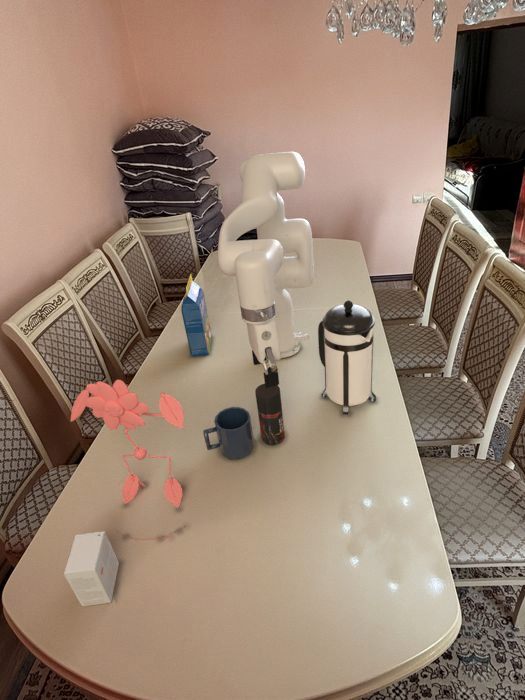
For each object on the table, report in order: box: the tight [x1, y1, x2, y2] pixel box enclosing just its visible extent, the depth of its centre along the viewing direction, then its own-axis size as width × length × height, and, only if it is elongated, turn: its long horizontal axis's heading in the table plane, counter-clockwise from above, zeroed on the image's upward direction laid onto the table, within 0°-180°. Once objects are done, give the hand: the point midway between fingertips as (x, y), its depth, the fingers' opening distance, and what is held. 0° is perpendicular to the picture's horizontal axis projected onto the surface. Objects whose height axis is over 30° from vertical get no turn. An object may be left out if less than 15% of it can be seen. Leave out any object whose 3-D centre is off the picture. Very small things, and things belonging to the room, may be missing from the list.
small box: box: [63, 530, 120, 607], centre depth 83 cm, size 8×6×10 cm
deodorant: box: [254, 382, 286, 446], centre depth 111 cm, size 6×6×15 cm
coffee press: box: [317, 300, 377, 416], centre depth 118 cm, size 17×16×30 cm
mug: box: [202, 406, 255, 461], centre depth 111 cm, size 12×9×10 cm
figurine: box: [70, 379, 186, 543], centre depth 90 cm, size 15×26×35 cm, turn 78°
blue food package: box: [180, 274, 213, 357], centre depth 151 cm, size 6×12×25 cm, turn 0°
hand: (266, 374), depth 106 cm, fingers open, 9 cm apart
